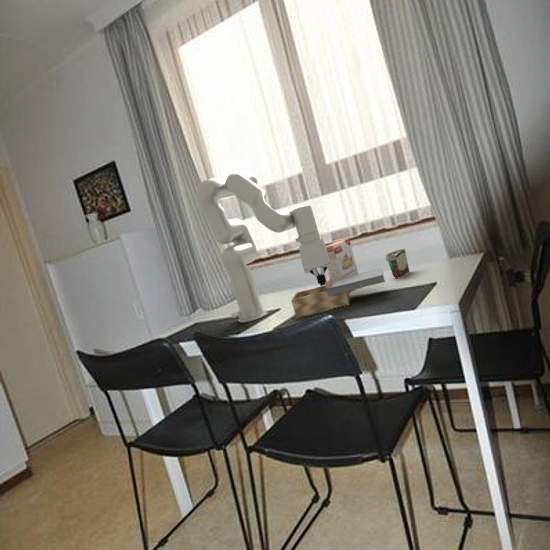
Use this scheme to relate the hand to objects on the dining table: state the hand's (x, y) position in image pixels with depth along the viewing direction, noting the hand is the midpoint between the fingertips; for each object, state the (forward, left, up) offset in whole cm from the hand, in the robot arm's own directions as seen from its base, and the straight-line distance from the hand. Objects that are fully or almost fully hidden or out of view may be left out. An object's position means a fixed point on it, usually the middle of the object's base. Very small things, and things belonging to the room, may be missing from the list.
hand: (323, 284), depth 175 cm
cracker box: (+7, +19, -9) cm, 22 cm away
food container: (+28, +25, -9) cm, 39 cm away
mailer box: (-2, 0, -8) cm, 9 cm away
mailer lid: (+12, 0, -3) cm, 12 cm away
